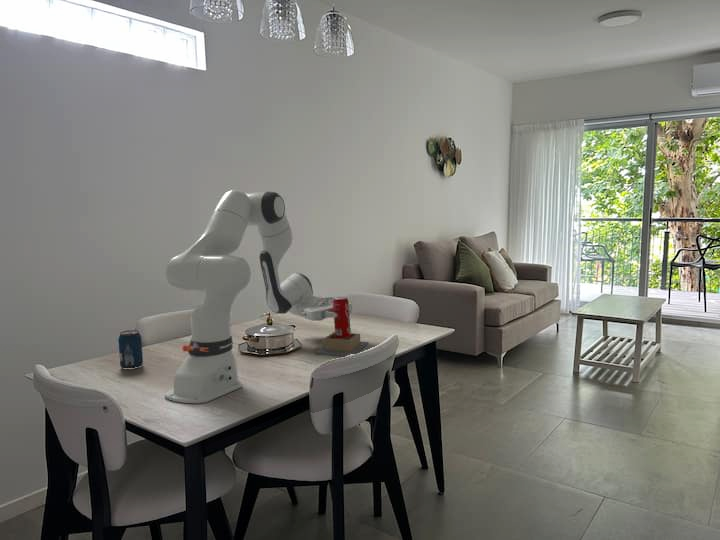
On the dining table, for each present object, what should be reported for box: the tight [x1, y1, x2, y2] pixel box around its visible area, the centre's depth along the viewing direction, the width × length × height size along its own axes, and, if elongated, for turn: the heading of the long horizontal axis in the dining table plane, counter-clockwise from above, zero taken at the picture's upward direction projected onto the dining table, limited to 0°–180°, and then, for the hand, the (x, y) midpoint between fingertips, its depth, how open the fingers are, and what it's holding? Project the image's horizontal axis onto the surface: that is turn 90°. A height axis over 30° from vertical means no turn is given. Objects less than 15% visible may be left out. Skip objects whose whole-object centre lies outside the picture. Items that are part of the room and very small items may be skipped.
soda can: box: [117, 329, 144, 369], centre depth 175 cm, size 7×7×12 cm
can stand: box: [314, 331, 369, 357], centre depth 194 cm, size 18×14×5 cm
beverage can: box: [333, 296, 352, 339], centre depth 193 cm, size 6×6×15 cm
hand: (343, 313), depth 192 cm, fingers closed on beverage can, 6 cm apart
